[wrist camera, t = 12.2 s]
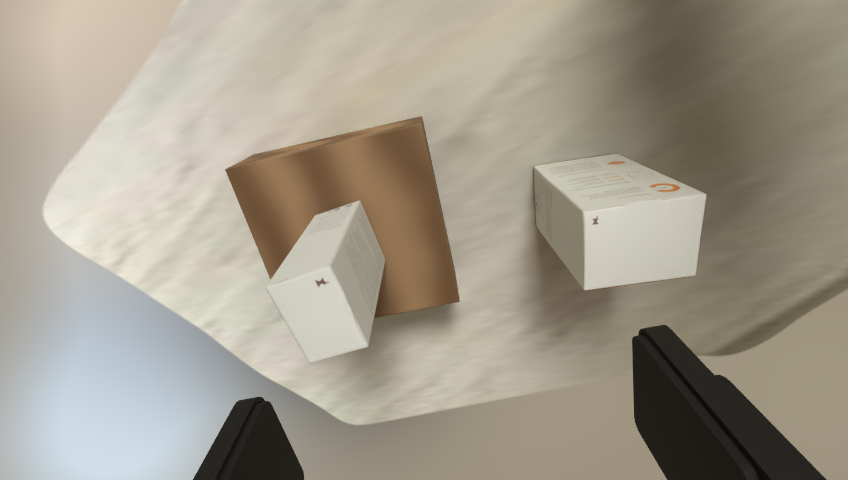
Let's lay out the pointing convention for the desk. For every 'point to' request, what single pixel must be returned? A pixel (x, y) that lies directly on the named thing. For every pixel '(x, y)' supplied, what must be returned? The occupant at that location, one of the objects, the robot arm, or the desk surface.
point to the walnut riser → (349, 182)
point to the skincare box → (331, 283)
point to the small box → (618, 221)
